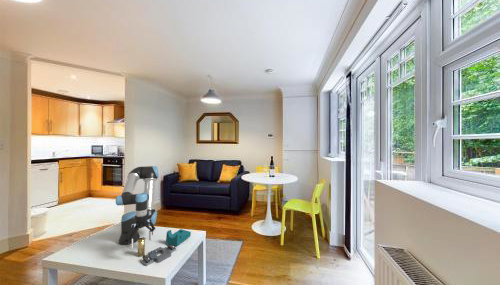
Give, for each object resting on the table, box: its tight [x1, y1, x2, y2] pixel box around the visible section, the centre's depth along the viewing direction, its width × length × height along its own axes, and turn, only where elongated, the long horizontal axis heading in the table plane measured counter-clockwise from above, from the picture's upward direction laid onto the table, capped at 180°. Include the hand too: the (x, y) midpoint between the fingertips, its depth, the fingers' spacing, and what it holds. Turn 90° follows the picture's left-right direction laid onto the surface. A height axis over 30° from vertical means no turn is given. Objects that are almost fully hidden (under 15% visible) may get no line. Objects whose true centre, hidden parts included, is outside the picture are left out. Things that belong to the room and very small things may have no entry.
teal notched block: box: [165, 228, 192, 247], centre depth 167 cm, size 18×11×10 cm, turn 161°
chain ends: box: [140, 244, 177, 267], centre depth 145 cm, size 14×23×4 cm, turn 145°
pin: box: [137, 237, 146, 258], centre depth 146 cm, size 5×5×12 cm
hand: (141, 243), depth 145 cm, fingers open, 13 cm apart
